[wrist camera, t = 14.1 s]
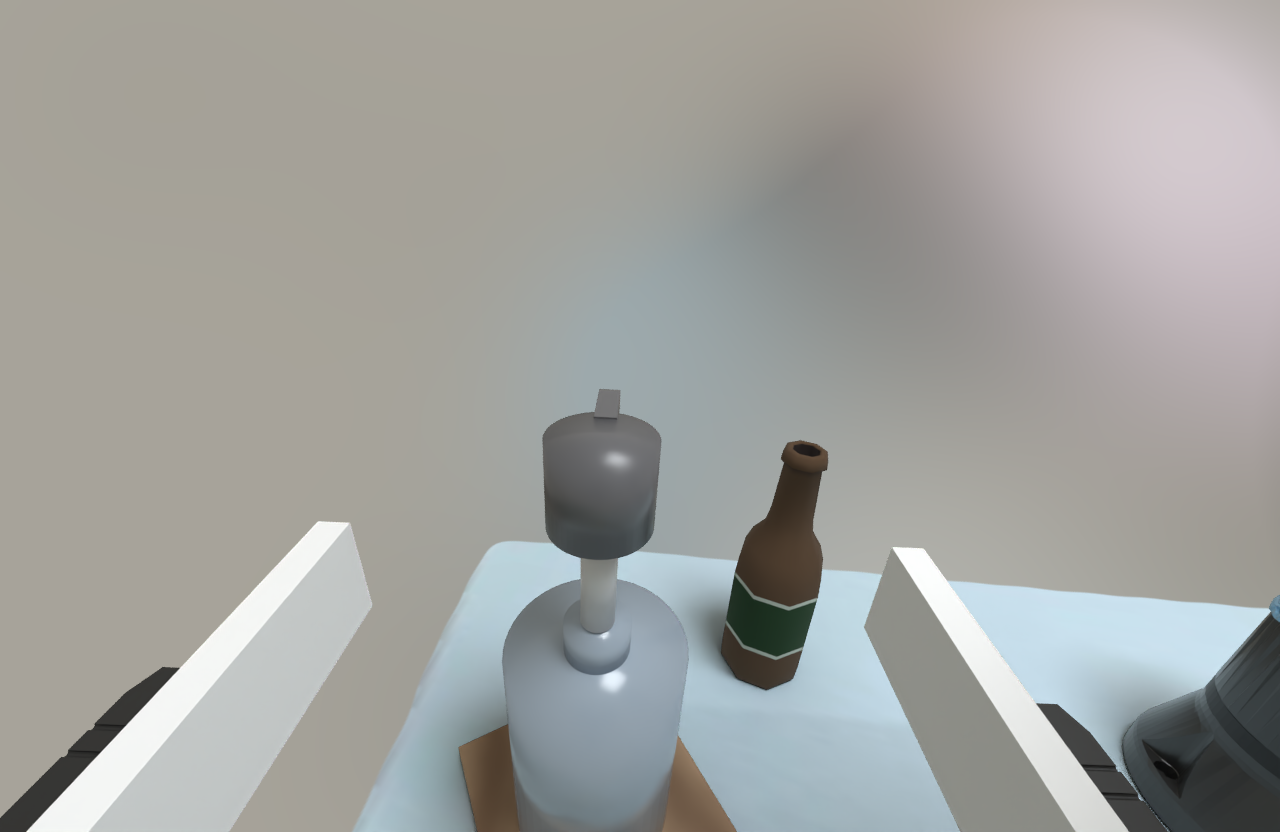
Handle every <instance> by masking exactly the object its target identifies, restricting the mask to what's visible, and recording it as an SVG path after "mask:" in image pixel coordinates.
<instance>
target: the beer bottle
mask: <svg viewBox="0 0 1280 832" xmlns="http://www.w3.org/2000/svg"><path fill="white" fill-rule="evenodd" d="M781 460H782V461H783V462H784V465H783V468H782V472H781V475H780V479H779V482H778V485H777V489H776V492H775V496H774V499H773V503H772V506H771V508H770V511H769V513H768V515H767V517H766V518H765V519H764V520H762V521H761V522H760V523H758V524H756V525H755V526H753V528H752V529H751V531H750V532H749V533H748V535H747V536H746V538H745V541H744V544H743V547H742V550H741V553H740V556H739V560H738V563H737V567H736V570H735V575H734V580H733V585H732V591H731V596H730V602H729V607H728V612H727V618H726V623H725V628H724V634H723V639H722V648H721V653H722V655H723V657H724V658H725V660H726V661H727V663H728V664H729V666H730V667H731V669H732V671H733V672H734V674H735V675H736V677H737V678H738V679H740V680H743V681H745V682H748V683H751V684H753V685H756V686H758V687H761V688H764V689H766V690H767V689H769V688H772V687H774V686H777V685H779V684H782V683H784V682H787V681H789V680H791V679H793V677H794V675H795V672H796V669H797V667H798V663H799V660H800V657H801V653H802V650H803V646H804V643H805V639H806V636H807V633H808V629H809V626H810V622H811V619H812V615H813V612H814V609H815V605H816V602H817V598H818V593H819V588H820V582H821V574H822V562H823V557H822V551H821V545H820V543H819V542H818V540H817V538H816V536H815V534H814V532H813V518H814V513H815V507H816V502H817V496H818V491H819V486H820V480H821V475H822V471H825V470H827V466H828V452H827V451H826V450H824V449H823V448H822V447H820V446H818V445H817V444H814V443H809V442H805V441H795V442H789V443H787V445H786V447H785V448H784V450H783V453H782V457H781Z"/></svg>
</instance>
